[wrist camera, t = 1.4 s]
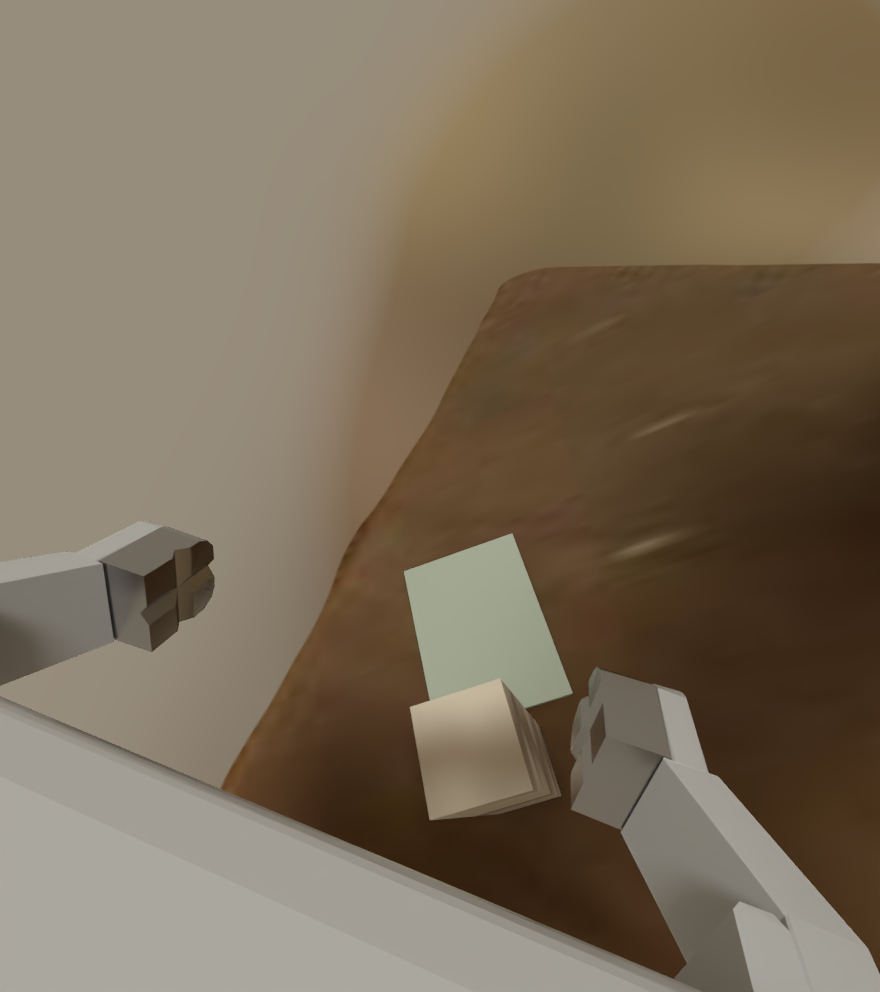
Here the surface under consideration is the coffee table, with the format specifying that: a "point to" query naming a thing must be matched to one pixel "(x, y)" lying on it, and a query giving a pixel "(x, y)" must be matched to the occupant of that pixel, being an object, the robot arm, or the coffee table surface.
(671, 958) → the coffee table surface
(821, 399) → the coffee table surface
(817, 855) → the coffee table surface
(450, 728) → the maple block
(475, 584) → the sage mat
